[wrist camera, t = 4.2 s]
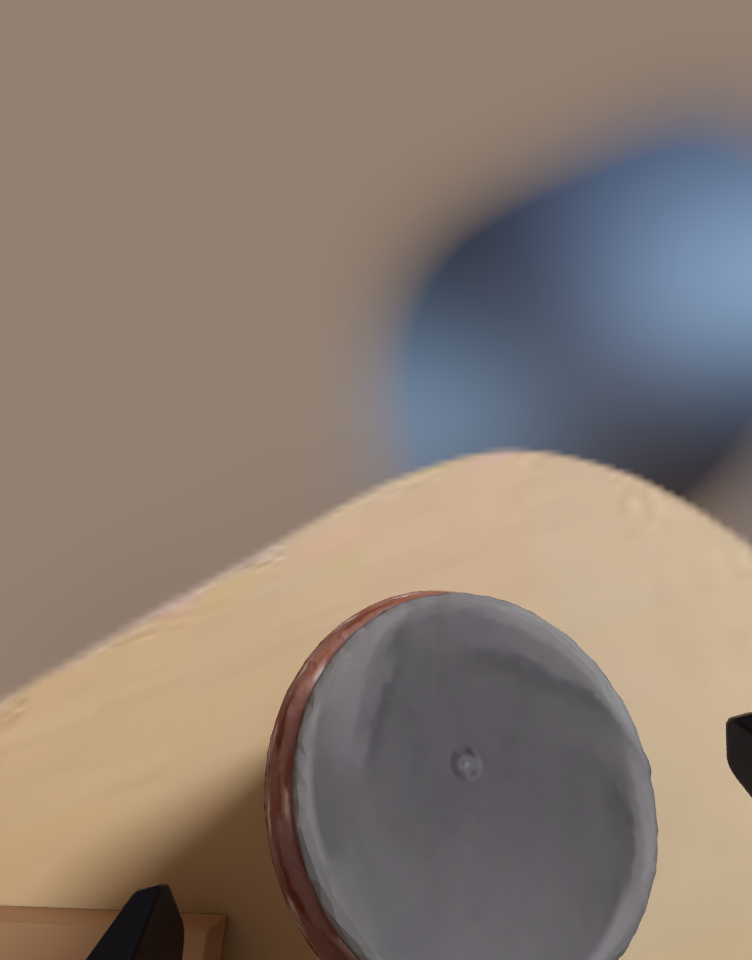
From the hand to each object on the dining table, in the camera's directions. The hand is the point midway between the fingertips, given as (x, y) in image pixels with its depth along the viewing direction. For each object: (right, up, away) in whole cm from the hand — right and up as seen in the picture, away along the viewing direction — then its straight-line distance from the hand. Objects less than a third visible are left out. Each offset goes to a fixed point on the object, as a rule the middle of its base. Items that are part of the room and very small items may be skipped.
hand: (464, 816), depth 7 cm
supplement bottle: (0, -4, +8) cm, 9 cm away
